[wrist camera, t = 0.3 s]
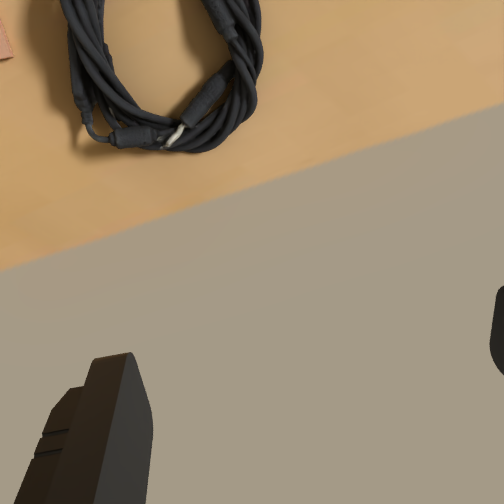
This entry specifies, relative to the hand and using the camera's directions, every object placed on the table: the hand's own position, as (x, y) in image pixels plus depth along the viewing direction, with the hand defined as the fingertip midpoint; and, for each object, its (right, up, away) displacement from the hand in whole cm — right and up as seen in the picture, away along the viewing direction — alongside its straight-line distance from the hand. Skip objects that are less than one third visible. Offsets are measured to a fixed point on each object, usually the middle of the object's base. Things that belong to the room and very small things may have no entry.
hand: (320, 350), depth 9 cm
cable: (-8, +19, +23) cm, 31 cm away
